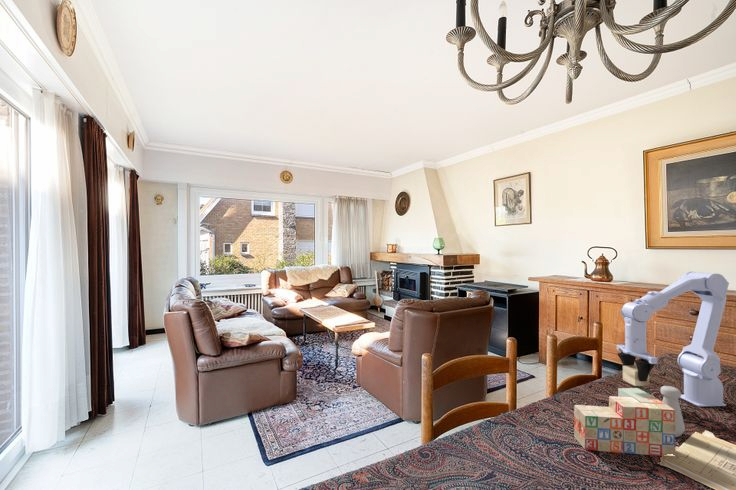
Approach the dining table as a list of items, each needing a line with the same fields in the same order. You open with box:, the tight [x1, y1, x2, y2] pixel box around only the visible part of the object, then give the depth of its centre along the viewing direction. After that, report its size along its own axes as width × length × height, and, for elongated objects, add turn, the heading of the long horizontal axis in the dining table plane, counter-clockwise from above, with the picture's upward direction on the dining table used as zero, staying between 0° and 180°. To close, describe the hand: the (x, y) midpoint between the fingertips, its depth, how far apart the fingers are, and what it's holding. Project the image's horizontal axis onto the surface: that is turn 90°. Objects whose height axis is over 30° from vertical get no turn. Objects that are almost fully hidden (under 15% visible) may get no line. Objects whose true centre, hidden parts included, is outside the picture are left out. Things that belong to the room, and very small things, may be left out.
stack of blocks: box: [573, 395, 676, 457], centre depth 89 cm, size 21×6×12 cm, turn 82°
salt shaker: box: [659, 385, 686, 438], centre depth 95 cm, size 6×6×13 cm
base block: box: [617, 387, 656, 399], centre depth 114 cm, size 7×7×3 cm
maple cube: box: [622, 364, 650, 387], centre depth 114 cm, size 5×5×5 cm
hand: (635, 377), depth 114 cm, fingers closed on maple cube, 5 cm apart
